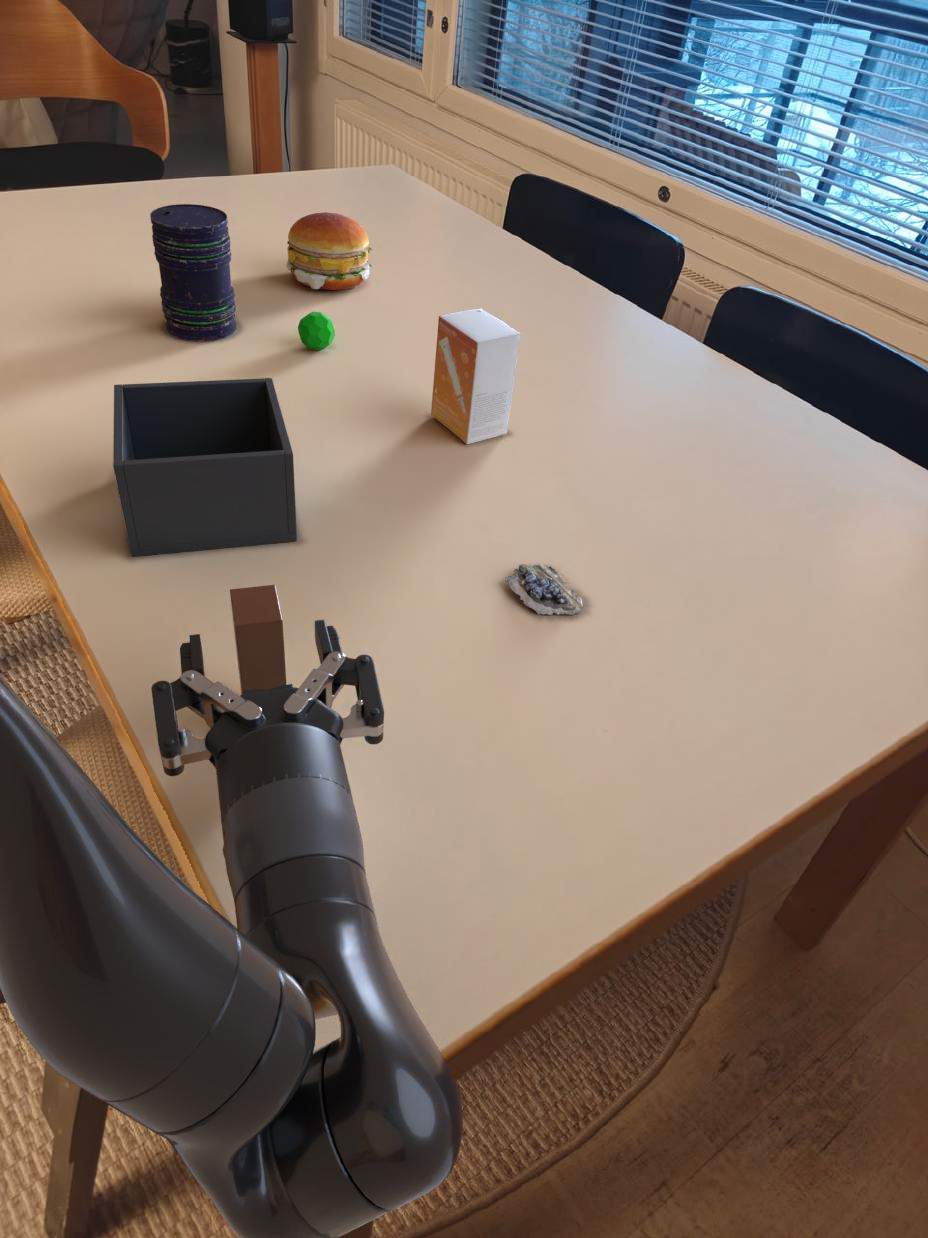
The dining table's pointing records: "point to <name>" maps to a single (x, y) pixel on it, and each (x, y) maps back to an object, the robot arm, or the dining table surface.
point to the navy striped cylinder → (194, 271)
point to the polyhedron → (316, 331)
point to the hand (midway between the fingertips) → (258, 635)
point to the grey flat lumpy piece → (544, 590)
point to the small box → (474, 374)
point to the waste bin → (203, 465)
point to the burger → (328, 251)
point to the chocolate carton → (258, 637)
